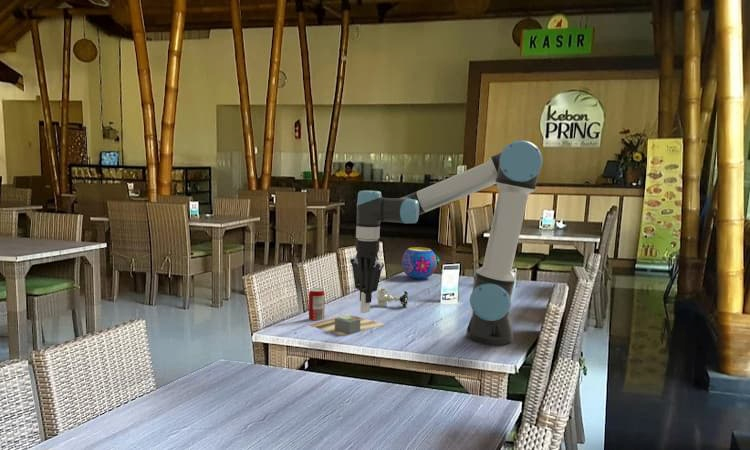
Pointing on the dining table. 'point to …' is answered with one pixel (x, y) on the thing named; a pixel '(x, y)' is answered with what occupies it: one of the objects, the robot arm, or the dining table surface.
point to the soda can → (316, 304)
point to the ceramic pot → (419, 262)
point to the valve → (390, 298)
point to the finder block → (347, 324)
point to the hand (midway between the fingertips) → (365, 311)
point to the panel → (330, 326)
